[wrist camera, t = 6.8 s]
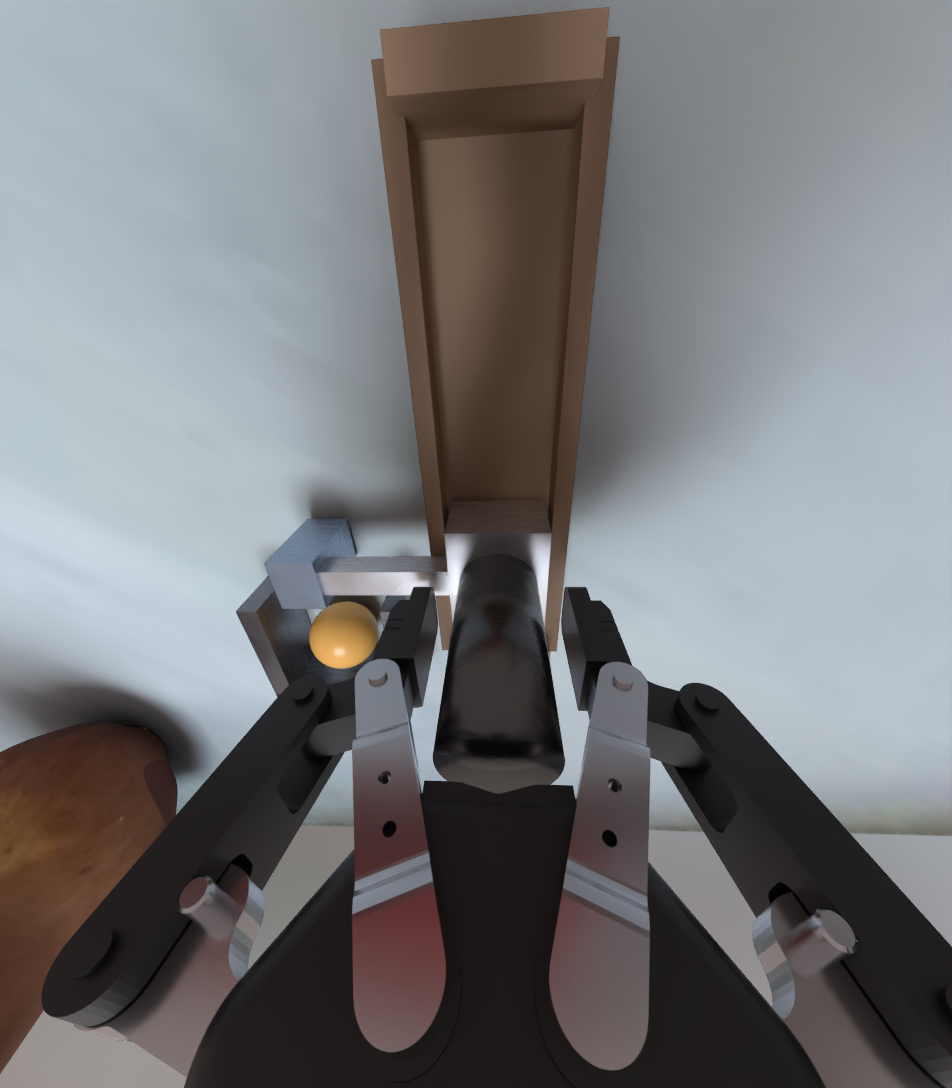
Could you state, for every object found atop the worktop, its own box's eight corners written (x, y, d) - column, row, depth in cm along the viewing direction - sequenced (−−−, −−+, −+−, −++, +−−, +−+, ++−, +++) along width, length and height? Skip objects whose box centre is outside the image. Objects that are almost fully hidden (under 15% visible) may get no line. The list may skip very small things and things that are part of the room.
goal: (415, 569, 20) (400, 612, 17) (429, 658, 24) (418, 707, 21) (274, 569, 20) (235, 611, 17) (308, 657, 24) (281, 704, 21)
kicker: (540, 490, 17) (594, 698, 8) (535, 578, 20) (571, 815, 10) (300, 494, 18) (74, 688, 8) (326, 578, 20) (176, 800, 11)
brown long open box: (595, 93, 11) (633, 4, 8) (550, 618, 21) (559, 666, 18) (395, 110, 11) (358, 31, 8) (447, 617, 22) (439, 664, 19)
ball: (390, 632, 23) (379, 588, 21) (373, 683, 20) (359, 636, 18) (333, 632, 23) (317, 587, 21) (308, 682, 20) (287, 635, 18)
